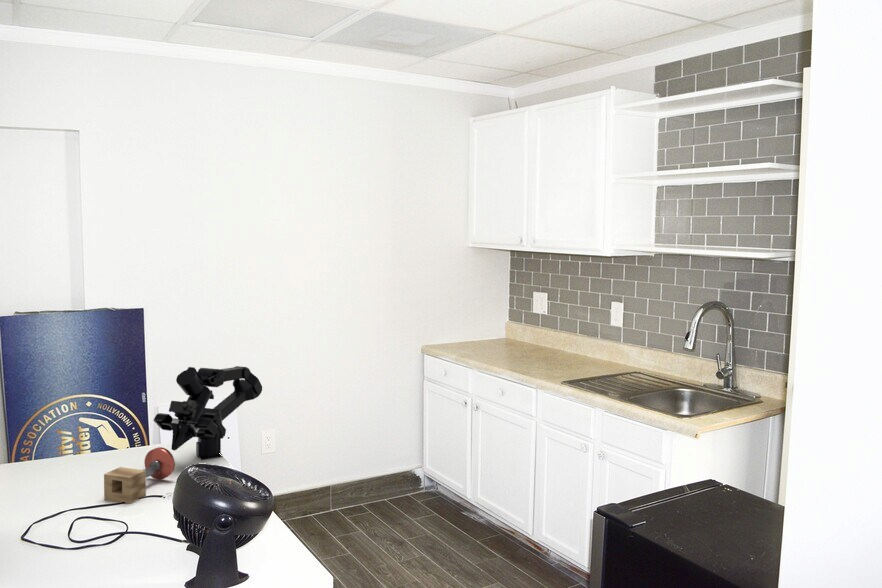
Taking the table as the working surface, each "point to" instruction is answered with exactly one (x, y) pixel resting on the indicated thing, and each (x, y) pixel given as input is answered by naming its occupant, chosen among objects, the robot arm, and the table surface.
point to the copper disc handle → (159, 463)
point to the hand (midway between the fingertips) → (173, 449)
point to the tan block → (124, 485)
